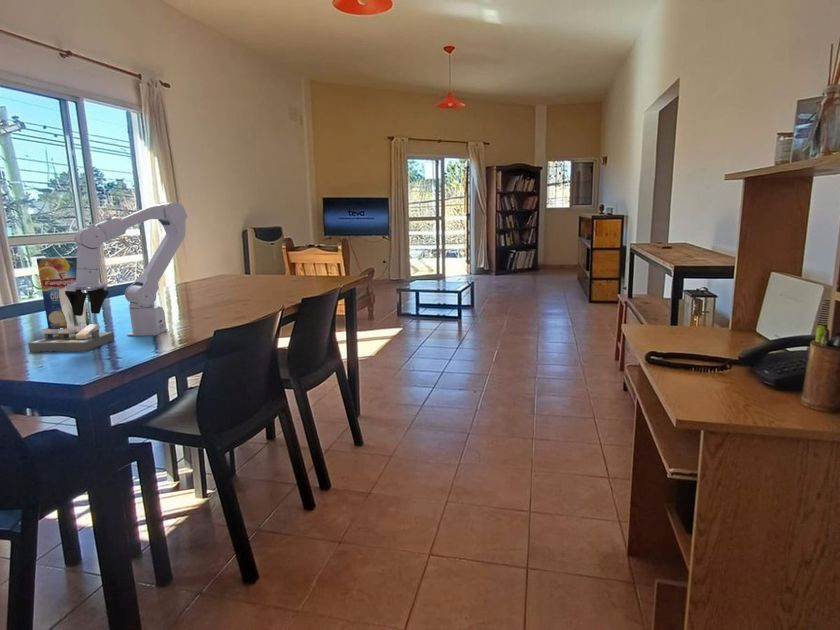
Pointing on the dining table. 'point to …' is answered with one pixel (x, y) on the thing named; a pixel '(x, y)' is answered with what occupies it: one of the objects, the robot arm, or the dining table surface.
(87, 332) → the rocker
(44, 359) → the dining table surface
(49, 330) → the rocker
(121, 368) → the dining table surface
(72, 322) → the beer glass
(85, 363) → the dining table surface
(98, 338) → the switch unit
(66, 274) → the juice carton
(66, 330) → the rocker middle
